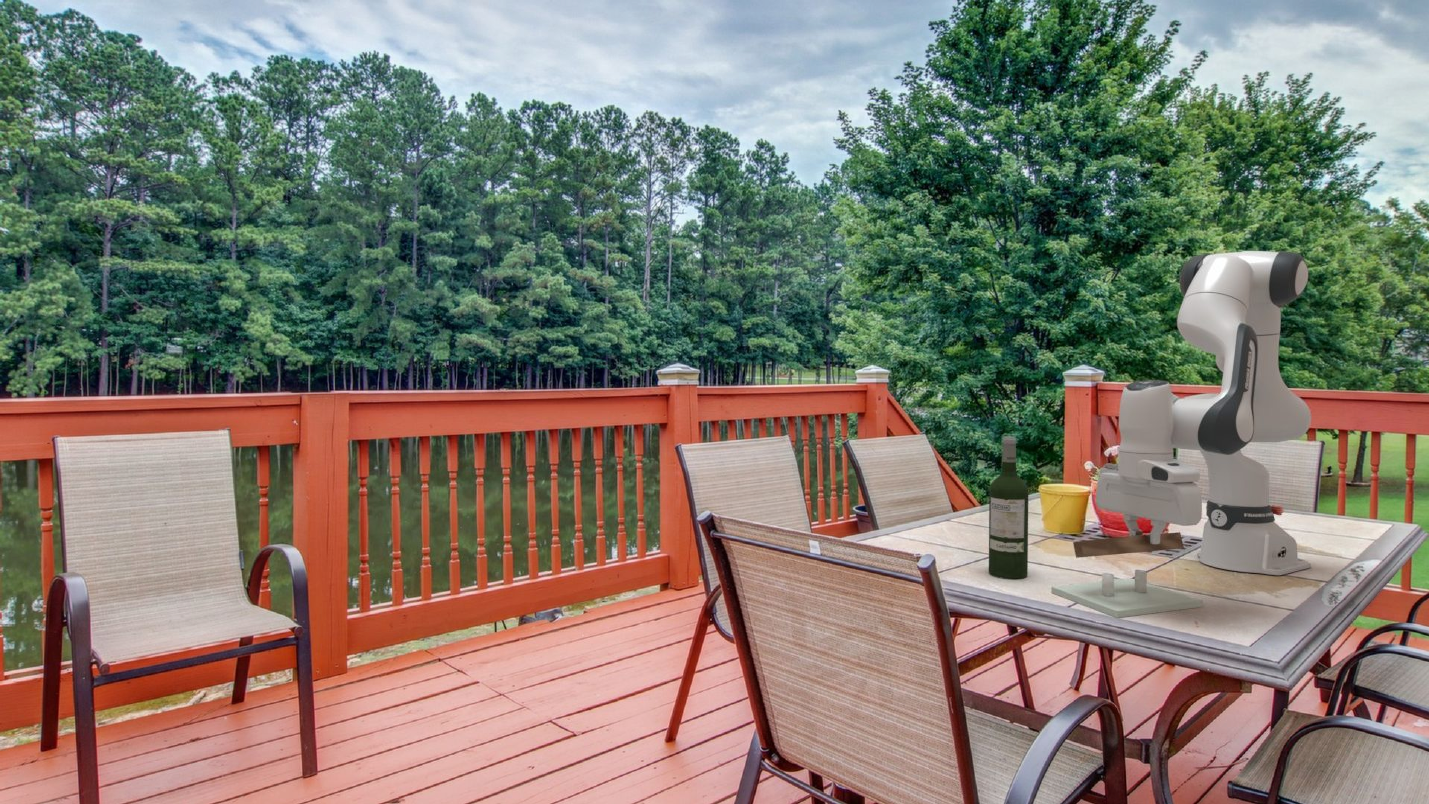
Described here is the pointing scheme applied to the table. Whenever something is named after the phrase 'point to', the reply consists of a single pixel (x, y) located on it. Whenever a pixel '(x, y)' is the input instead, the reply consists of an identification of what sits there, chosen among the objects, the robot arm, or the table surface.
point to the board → (1126, 596)
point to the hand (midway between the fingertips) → (1144, 541)
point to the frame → (1126, 545)
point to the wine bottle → (1008, 519)
